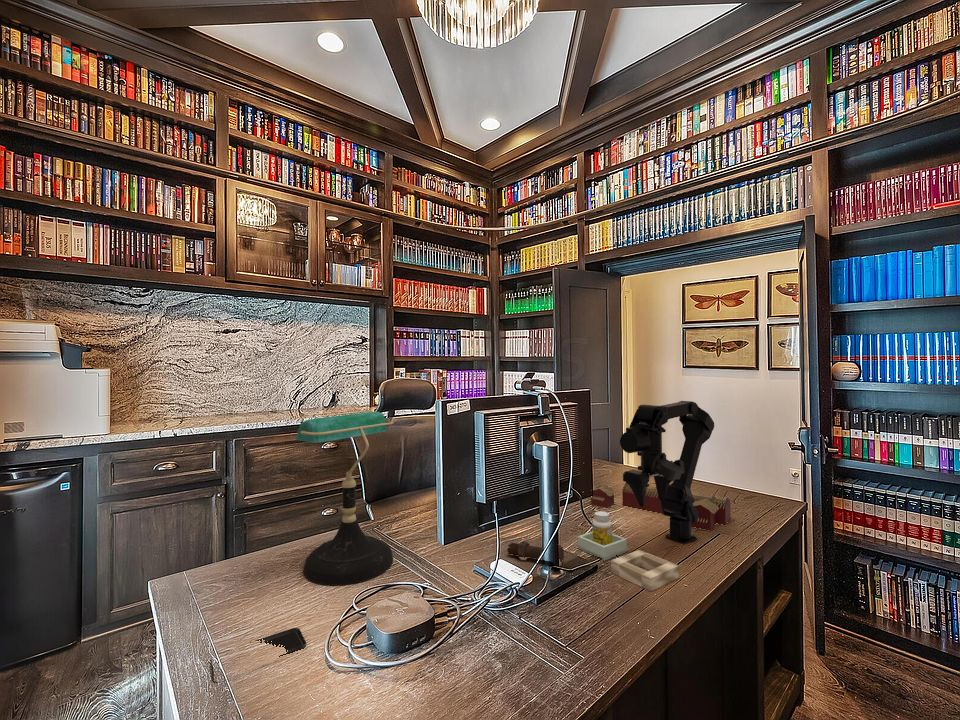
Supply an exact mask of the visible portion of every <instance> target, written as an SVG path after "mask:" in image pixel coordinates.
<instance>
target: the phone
mask: <svg viewBox="0 0 960 720" xmlns="http://www.w3.org/2000/svg"><path fill="white" fill-rule="evenodd" d="M262 639H263V640H265V641H264V642H265V643H266V644H267V643H269V644H271V643H272V645H273V646H274V644H275V645H276V647H277V646H278V645H279V644H280V646H279V647H281V645H283V646H282V647H284V646H285V647H284V648H285V649H286V652H287V650H288V652H287V653H286V654H290V653H293V652H295V651H298V650H301V649H304V648H305V647H306V645H307V642H306V639H305V637H304V635H303V634H302V631H301V629H300V628H299V627H292V628H289V629H285V630H283V631H280V632H277V633H274V634H270V635H268V636H265V637H261V638H259V639H256V640H254V641H259V640H260V641H261V642H260V643H262ZM267 641H268V642H267ZM271 641H272V642H271ZM251 642H252V641H250V643H251ZM286 654H283V655H286ZM283 655H280V656H283ZM280 656H279V657H280Z"/></svg>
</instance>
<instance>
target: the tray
mask: <svg viewBox="0 0 960 720" xmlns="http://www.w3.org/2000/svg"><path fill="white" fill-rule="evenodd" d="M577 549H579V550H580V551H582V550H583V551H582V552H584V553H587V554H589V555H591V554H592V555H591V556H593V555H594V556H593V557H595V556H597V557H600V558H602V559H601V560H603V561H608V560H610V559H612V557H613V558H615V557H617V556H616V555H618V556H620V555H623V554H626V553H627V552H628V539H627V538H626V537H622V536H619V535H616V534H614V533H612V543H611V544H608V545H605V546H603V545H601V544H598V543H596V542H593V531H590V532H587V533H584V534H580V535H578V536H577ZM614 556H615V557H614ZM597 557H596V558H597ZM600 558H599V559H600Z"/></svg>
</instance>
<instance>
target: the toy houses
mask: <svg viewBox="0 0 960 720" xmlns="http://www.w3.org/2000/svg"><path fill="white" fill-rule="evenodd" d="M671 484H672V483H670V484H669V485H671ZM623 485H624V486H623V488H622V489H621V490H622V492H621V493H622V496H621V498H622V507H624V506H628V507H627V508H629V507H632V508H631V509H634V508H638V509H637V510H639V509H642V510H641V511H644V510H647V511H646V512H649V511H652V512H651V513H654V512H657V513H656V514H659V513H661V514H660V515H663V511H662V507H661V501H660V500H659V496H658V493H657V488H656V486H651V485H649V486H648V487H647V488H646V491H645V504H644V507H640V505H639V503H638V501H637V499H636V497H635V495H634V493H633V491H632V489H631V488H630V486H629V484H626V482H625V483H624V484H623ZM592 490H593V496H592V498H591V497H590V505H591V506H594V505H596V507H599V506H601V507H600V508H604V507H605V508H604V509H609V508H610V507H612V506H614V505H615V494H617V492H616V491H615V490H613V488H610V487H609V486H608V485H602V486H600V487H596V488H594V489H592ZM691 492H692V495H693V498H694V500H693V505H694V507H695V508H696V510H697V511H698V512H699V516H698V520H697V521H696V522H691V527H696V528H701V529H706V530H710V531H711V530H712V528H713V527H714V526H715V524H716V523H718V524H723V525H726V524H727V522H728V521H729V520H730V518H731V516H732V514H731V500H730V498H729V497H724V496H722V497H720V496H718V495H717V496H715V495H713V494H712V495H710V494H705V493H703V494H702V493H700V492H697V493H695V492H693V491H691ZM613 504H614V505H613ZM611 505H612V506H611ZM608 507H609V508H608ZM731 519H732V518H731ZM730 521H731V520H730ZM730 521H729V522H730ZM729 522H728V523H729ZM727 525H728V524H727ZM727 525H726V526H727ZM715 527H716V526H715ZM715 527H714V528H715ZM696 528H695V529H696ZM714 528H713V529H714ZM701 529H700V530H701ZM710 531H709V532H710ZM712 531H713V530H712ZM712 531H711V532H712Z"/></svg>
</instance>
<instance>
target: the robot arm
mask: <svg viewBox="0 0 960 720" xmlns="http://www.w3.org/2000/svg"><path fill="white" fill-rule="evenodd" d="M675 418H678V419H679V420H678V421H679V422H680V423H681V425H682V429H681V430H682V433H683V436H684V443H683V446H682V450H681V452H680V456H679V457H680V458H679V459H676V460H674V461H673V460H669V459H667V454H666V452H663V433H666V430H667V429H665V427H663V426H664V425H665V424H667V423H668V422H669V421H668V420H671V419H675ZM714 429H715V422H714V420H713V418H712V417H711V415H710V414H709V413H708V412H707V411H705V410H704V409H702V408H701V407H700V406H699V405H698V403H696V402H695V401H693V400H692V401H689V400H687V401H686V400H679V401H677V402H672V403H667V404H662V405H652V404H640V405H638V406H637V409H636V411H635V413H634V416H633V417H632V419H631V422H630V424H629V426H628V427H626V428H625V432H624V433H622V435H620V438H619V445H620V448H621V449H622V450H623V451H624V452H625V453H627V454H634V453H637V454H636V455H637V456H639V457H640V465H638V466H637V470H636V469H630V470H625V471H624V472H623V473H622V482H625V483H626V484H629V486H630V488H631V489H632V491H633V493H634V495H635V497H636V499H637V501H638V503H639V505H640V507H644V504H645V491H646V488H647V487H648V486H651V484H649V482H650V478H653V479H654V484H655V487H656V488H657V493H658V496H659V500H660V501H661V507H662V511H663V514H662V515H663V516H665V517H668V518H669V533H667V534H665V537H666V538H667V539H671V540H674V541H676V542H678V543H682V544H687V543H689V542H693V541H694V540H697V536H694V535H692V528H691V522H696V521H697V520H698V516H699V512H698V511H697V510H696V508H695V507H694V505H693V500H694V498H693V495H692V494H693V493H692V492H693V491H692V489H691V487H692V484H693V481H694V480H693V479H694V476H695V472H696V468H697V464H698V462H699V457H700V454H701V450H702V446H703V445H704V443H706V442H707V441H708V440H709V439H710V438H711V436H712V433H713V431H714ZM669 484H671V485H669ZM648 488H649V487H648Z"/></svg>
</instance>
